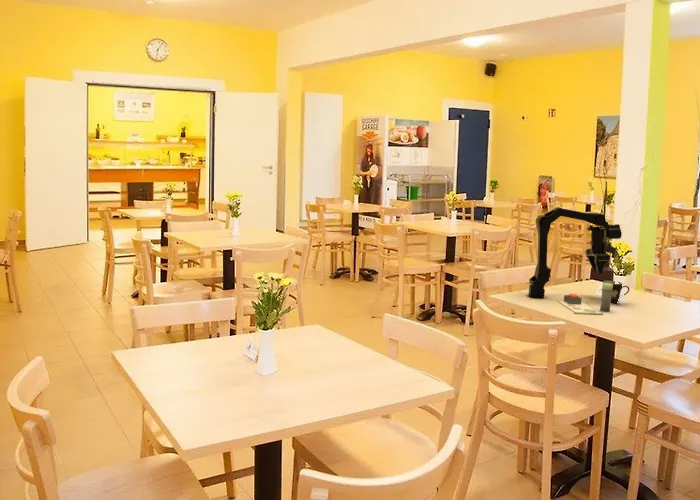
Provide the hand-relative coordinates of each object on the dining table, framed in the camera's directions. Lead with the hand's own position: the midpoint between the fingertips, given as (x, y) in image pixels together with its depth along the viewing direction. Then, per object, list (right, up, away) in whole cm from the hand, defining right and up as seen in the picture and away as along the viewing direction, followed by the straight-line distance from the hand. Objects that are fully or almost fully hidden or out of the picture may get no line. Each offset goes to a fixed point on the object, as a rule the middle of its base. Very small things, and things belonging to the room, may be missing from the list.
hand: (597, 272), depth 338 cm
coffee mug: (+8, -15, 0) cm, 17 cm away
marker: (-3, -17, -19) cm, 26 cm away
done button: (-14, -12, -7) cm, 20 cm away
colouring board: (-13, -16, -14) cm, 25 cm away
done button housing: (-14, -14, -6) cm, 21 cm away
